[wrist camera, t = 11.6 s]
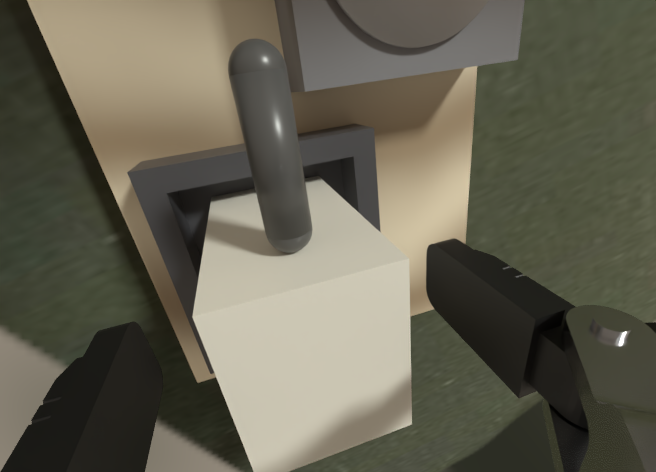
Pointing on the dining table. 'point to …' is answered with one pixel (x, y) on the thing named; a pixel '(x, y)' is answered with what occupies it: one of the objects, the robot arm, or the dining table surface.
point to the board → (306, 91)
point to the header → (234, 176)
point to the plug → (299, 294)
